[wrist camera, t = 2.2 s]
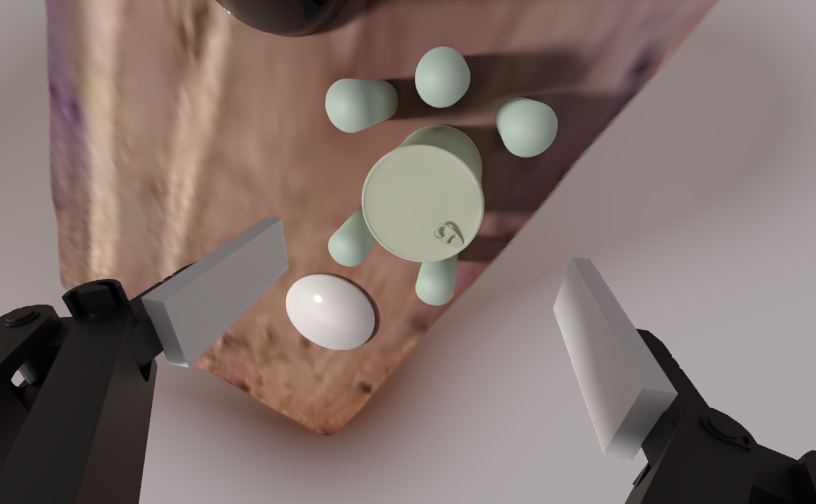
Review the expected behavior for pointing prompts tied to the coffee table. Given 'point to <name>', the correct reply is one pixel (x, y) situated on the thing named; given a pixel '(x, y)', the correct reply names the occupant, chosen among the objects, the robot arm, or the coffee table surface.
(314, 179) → the coffee table surface
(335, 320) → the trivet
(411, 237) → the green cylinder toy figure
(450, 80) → the posts
